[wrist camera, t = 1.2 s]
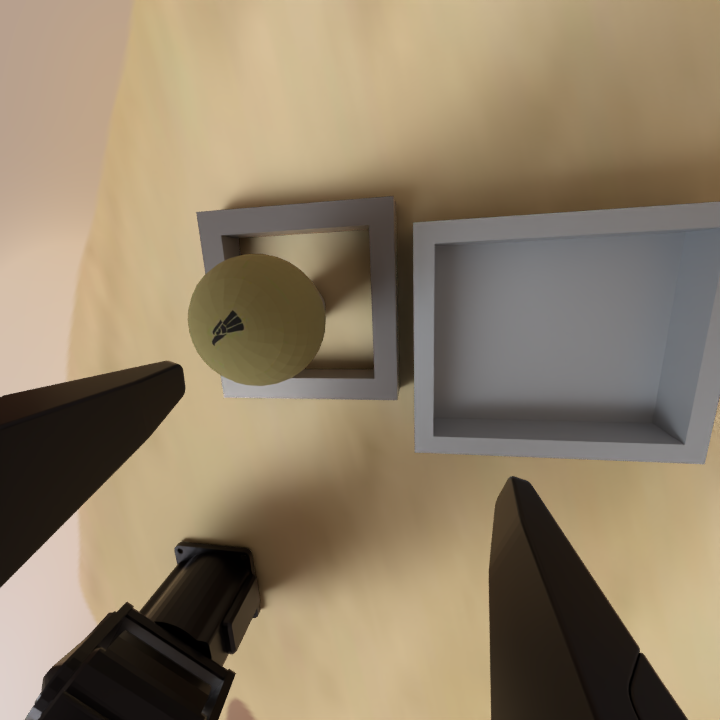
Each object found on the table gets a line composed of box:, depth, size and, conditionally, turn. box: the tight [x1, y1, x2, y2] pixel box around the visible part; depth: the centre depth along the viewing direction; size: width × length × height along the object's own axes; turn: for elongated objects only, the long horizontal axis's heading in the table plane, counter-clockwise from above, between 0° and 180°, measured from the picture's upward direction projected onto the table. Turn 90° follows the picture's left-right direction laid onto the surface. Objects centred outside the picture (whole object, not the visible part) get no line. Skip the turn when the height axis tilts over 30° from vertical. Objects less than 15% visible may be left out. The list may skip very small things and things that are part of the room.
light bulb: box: [188, 254, 326, 386], centre depth 17 cm, size 6×6×10 cm
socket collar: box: [196, 196, 399, 400], centre depth 21 cm, size 11×11×2 cm
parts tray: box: [413, 202, 720, 464], centre depth 18 cm, size 14×12×4 cm
